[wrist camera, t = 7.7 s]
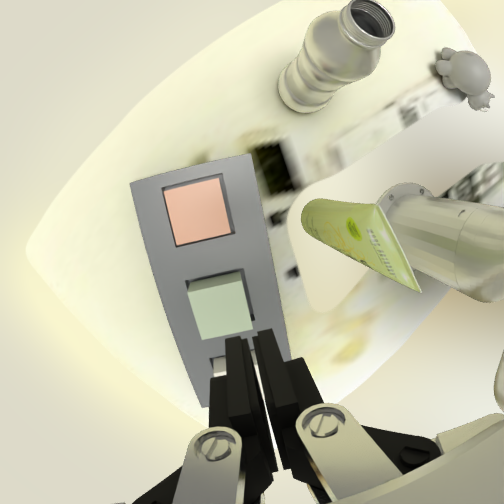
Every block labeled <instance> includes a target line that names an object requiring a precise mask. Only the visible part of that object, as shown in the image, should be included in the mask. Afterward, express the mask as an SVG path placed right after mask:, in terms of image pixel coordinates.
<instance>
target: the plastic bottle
mask: <svg viewBox="0 0 504 504" xmlns="http://www.w3.org/2000/svg"><path fill="white" fill-rule="evenodd" d="M394 32H395V23H394V20H393V18H392V16H391V14H390V13H389V12H388V11H387V10H386V9H385V7H383V6H382V5H381V4H379V3H378V2H376V1H374V0H352V1H351V2H350V3H349V4H348V5H347V6H345V7H344V8H343V9H342V10H341V11H330V12H327V13H324V14H322V15H320V16H318V17H317V18H315V19H314V20H313V21H312V22H311V23H310V25H309V28H308V30H307V32H306V35H305V39H304V42H303V46H302V49H301V51H300V53H299V55H298V56H297V57H296V59H295V60H294V61H292V62H291V63H290V64H288V65H287V66H286V67H285V68H284V69H283V71H282V72H281V74H280V77H279V83H278V90H279V94H280V96H281V98H282V100H283V101H284V103H285V104H286V105H287V106H288V107H290V108H291V109H293V110H295V111H297V112H301V113H311V112H315V111H318V110H320V109H322V108H324V107H325V106H326V105H327V104H328V102H329V101H330V99H331V98H332V96H333V94H334V93H335V92H336V91H337V90H338V89H340V88H341V87H343V86H345V85H347V84H350V83H352V82H355V81H358V80H361V79H363V78H364V77H366V76H368V75H370V74H371V73H372V72H373V71H374V70H375V68H376V66H377V64H378V62H379V59H380V55H381V46H382V45H384V44H385V42H386V41H387V40H388V39H390V38H391V37H392V36H393V34H394Z"/></svg>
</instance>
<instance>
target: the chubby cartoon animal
mask: <svg viewBox="0 0 504 504" xmlns="http://www.w3.org/2000/svg"><path fill="white" fill-rule="evenodd" d="M441 56H442V59H443V60H438V61H436V70H437V72H438V73H439V74H440V75H443V84H444V86H445V87H446V88H449V89H454V88H458V89H459V90H461V91H462V92H464V93H466V94H467V97H468V103H469V105H470V107H471V108H472V109H474V110H480V111H483V112H487V111H488V110H486V109H484V107H487V108H490V106H489V104H488V103H489V101H490V98H494V95H493V94H491V93H489V92H488V91H487V89H488V87H489V85H490V82H491V74H490V70H489V68H488V66H487V64H486V63H485V61H484V60H483V59H482V58H481V57H480V56H479V55H477V54H475V53H473V52H470V51H459V52H456V51H455V50H453V49H450V48H443V49H442V52H441Z"/></svg>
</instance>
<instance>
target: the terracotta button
mask: <svg viewBox="0 0 504 504" xmlns="http://www.w3.org/2000/svg"><path fill="white" fill-rule="evenodd" d="M164 195H165V199H166V204H167V208H168V212H169V216H170V220H171V224H172V228H173V232H174V236H175V240H176V244H177V245H181V244H185V243H189V242H193V241H198V240H202V239H206V238H211V237H215V236H219V235H224V234H228V233H231V231H230V226H229V222H228V217H227V213H226V208H225V204H224V199H223V195H222V190H221V185H220V181H219V178H216V179H212V180H207V181H203V182H199V183H195V184H190V185H186V186H182V187H178V188H175V189H171V190H167V191H164Z"/></svg>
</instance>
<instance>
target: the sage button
mask: <svg viewBox="0 0 504 504" xmlns="http://www.w3.org/2000/svg"><path fill="white" fill-rule="evenodd" d="M187 293H188V297H189V300H190V304H191V307H192V310H193V313H194V317H195V320H196V323H197V326H198V329H199V332H200V336H201V339H202V340H204V339H209V338H214V337H219V336H224V335H229V334H234V333H238V332H243V331H247V330H252V329H253V326H252V322H251V317H250V313H249V309H248V305H247V300H246V296H245V292H244V288H243V283H242V279H241V275H240V271H238V272H234V273H229V274H225V275H221V276H216V277H212V278H207V279H203V280H198V281H194V282H190V285H189V288H188V292H187Z"/></svg>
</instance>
